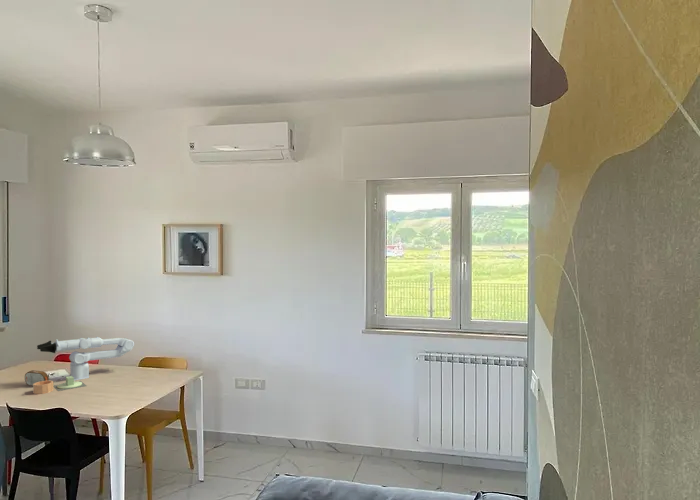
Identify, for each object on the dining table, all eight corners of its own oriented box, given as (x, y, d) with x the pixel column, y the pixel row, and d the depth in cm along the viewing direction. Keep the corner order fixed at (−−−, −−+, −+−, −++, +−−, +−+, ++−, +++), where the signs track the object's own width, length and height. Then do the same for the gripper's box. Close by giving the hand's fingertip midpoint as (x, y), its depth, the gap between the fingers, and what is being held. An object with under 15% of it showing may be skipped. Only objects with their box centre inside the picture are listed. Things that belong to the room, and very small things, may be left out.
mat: (80, 381, 278) (80, 380, 278) (86, 386, 268) (86, 385, 268) (52, 386, 269) (52, 385, 269) (58, 391, 258) (58, 391, 258)
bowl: (51, 388, 264) (51, 379, 264) (54, 392, 258) (54, 383, 258) (32, 392, 258) (31, 382, 258) (34, 395, 252) (34, 386, 252)
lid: (79, 381, 277) (79, 373, 277) (84, 386, 268) (84, 377, 268) (55, 385, 269) (55, 377, 269) (59, 390, 260) (59, 381, 260)
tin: (49, 386, 270) (49, 371, 270) (44, 387, 267) (44, 372, 267) (28, 384, 274) (28, 369, 274) (23, 385, 271) (23, 371, 271)
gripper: (62, 336, 285) (36, 339, 276) (69, 340, 275) (42, 343, 265) (62, 348, 285) (35, 351, 276) (69, 352, 275) (41, 355, 265)
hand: (38, 348), depth 270 cm, fingers open, 7 cm apart
